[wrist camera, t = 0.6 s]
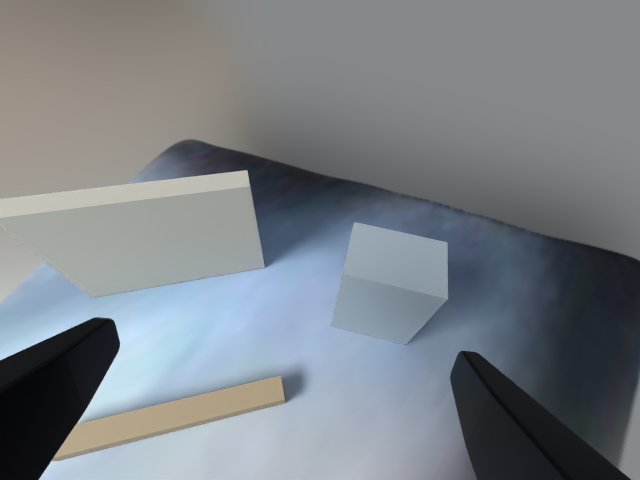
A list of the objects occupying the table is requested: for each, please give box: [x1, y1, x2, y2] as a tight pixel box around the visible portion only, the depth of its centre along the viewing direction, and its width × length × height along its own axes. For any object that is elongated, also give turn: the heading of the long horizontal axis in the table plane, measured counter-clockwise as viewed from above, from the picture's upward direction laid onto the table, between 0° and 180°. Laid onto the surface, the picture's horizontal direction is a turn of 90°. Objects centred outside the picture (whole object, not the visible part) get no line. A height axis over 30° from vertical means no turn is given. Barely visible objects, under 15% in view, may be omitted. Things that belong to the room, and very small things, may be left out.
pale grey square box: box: [331, 222, 448, 345], centre depth 22 cm, size 5×6×8 cm
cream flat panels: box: [0, 170, 285, 461], centre depth 19 cm, size 12×14×10 cm
